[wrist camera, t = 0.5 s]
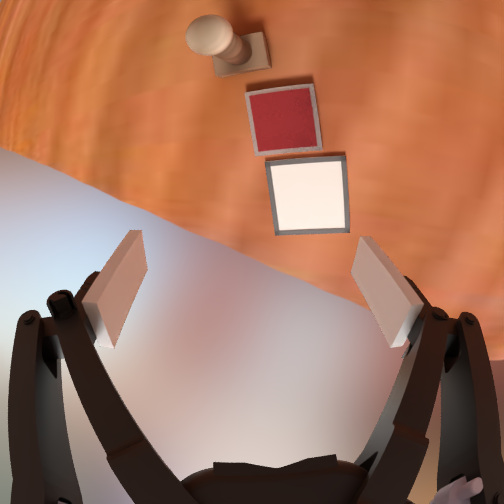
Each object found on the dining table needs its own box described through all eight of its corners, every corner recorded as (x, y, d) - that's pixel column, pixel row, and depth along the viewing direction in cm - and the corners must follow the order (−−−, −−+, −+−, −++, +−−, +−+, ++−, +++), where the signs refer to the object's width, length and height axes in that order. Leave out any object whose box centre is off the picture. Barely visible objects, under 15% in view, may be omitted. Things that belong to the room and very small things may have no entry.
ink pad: (313, 84, 31) (313, 83, 29) (322, 149, 34) (322, 150, 33) (246, 93, 33) (243, 92, 32) (257, 155, 37) (254, 156, 36)
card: (345, 155, 34) (345, 155, 34) (349, 231, 39) (349, 232, 38) (265, 161, 37) (264, 161, 37) (275, 234, 42) (275, 235, 41)
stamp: (266, 37, 29) (232, -2, 16) (272, 68, 31) (241, 42, 18) (217, 47, 31) (163, 21, 18) (222, 78, 33) (169, 62, 20)
